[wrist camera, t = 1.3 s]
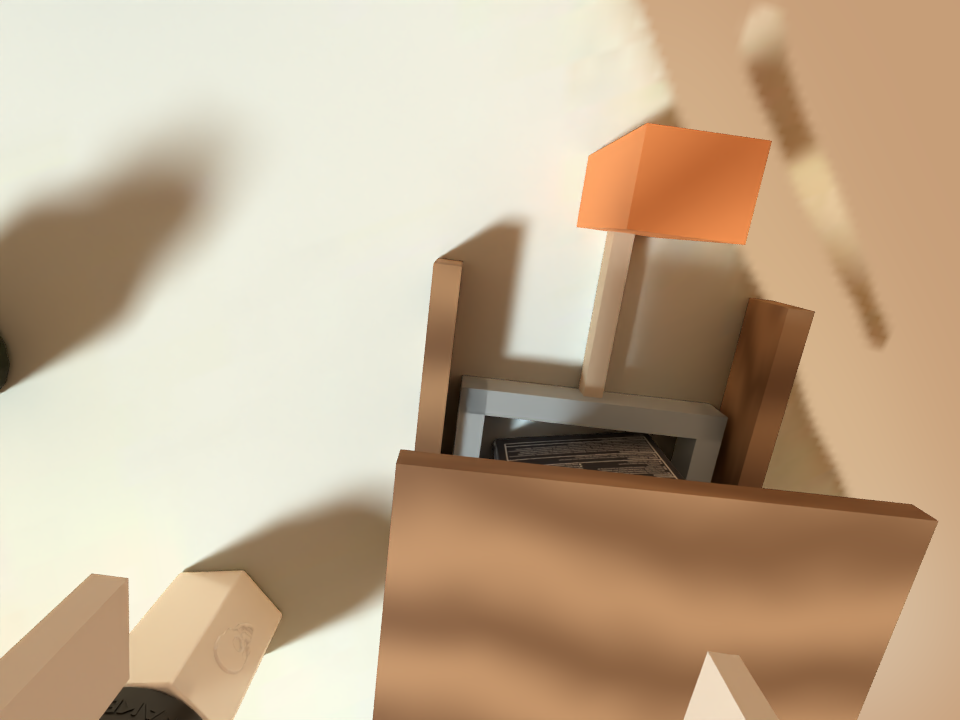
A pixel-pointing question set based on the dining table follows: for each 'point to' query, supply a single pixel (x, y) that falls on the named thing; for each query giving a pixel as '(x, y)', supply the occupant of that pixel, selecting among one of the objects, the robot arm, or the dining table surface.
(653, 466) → the small box
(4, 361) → the potion bottle
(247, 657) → the jar
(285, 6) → the dining table surface
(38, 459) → the dining table surface
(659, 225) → the grey and orange frame
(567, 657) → the shelf lane
